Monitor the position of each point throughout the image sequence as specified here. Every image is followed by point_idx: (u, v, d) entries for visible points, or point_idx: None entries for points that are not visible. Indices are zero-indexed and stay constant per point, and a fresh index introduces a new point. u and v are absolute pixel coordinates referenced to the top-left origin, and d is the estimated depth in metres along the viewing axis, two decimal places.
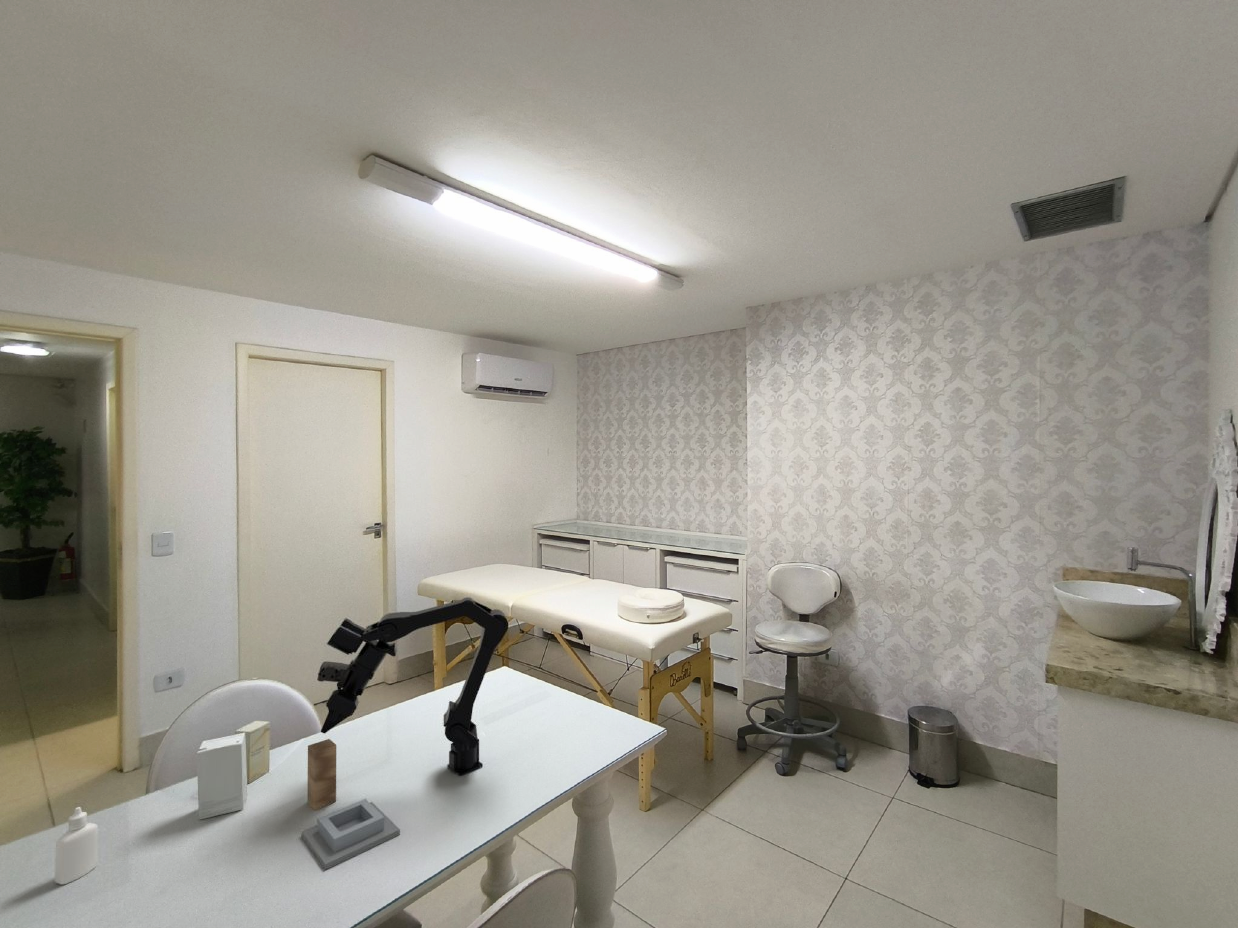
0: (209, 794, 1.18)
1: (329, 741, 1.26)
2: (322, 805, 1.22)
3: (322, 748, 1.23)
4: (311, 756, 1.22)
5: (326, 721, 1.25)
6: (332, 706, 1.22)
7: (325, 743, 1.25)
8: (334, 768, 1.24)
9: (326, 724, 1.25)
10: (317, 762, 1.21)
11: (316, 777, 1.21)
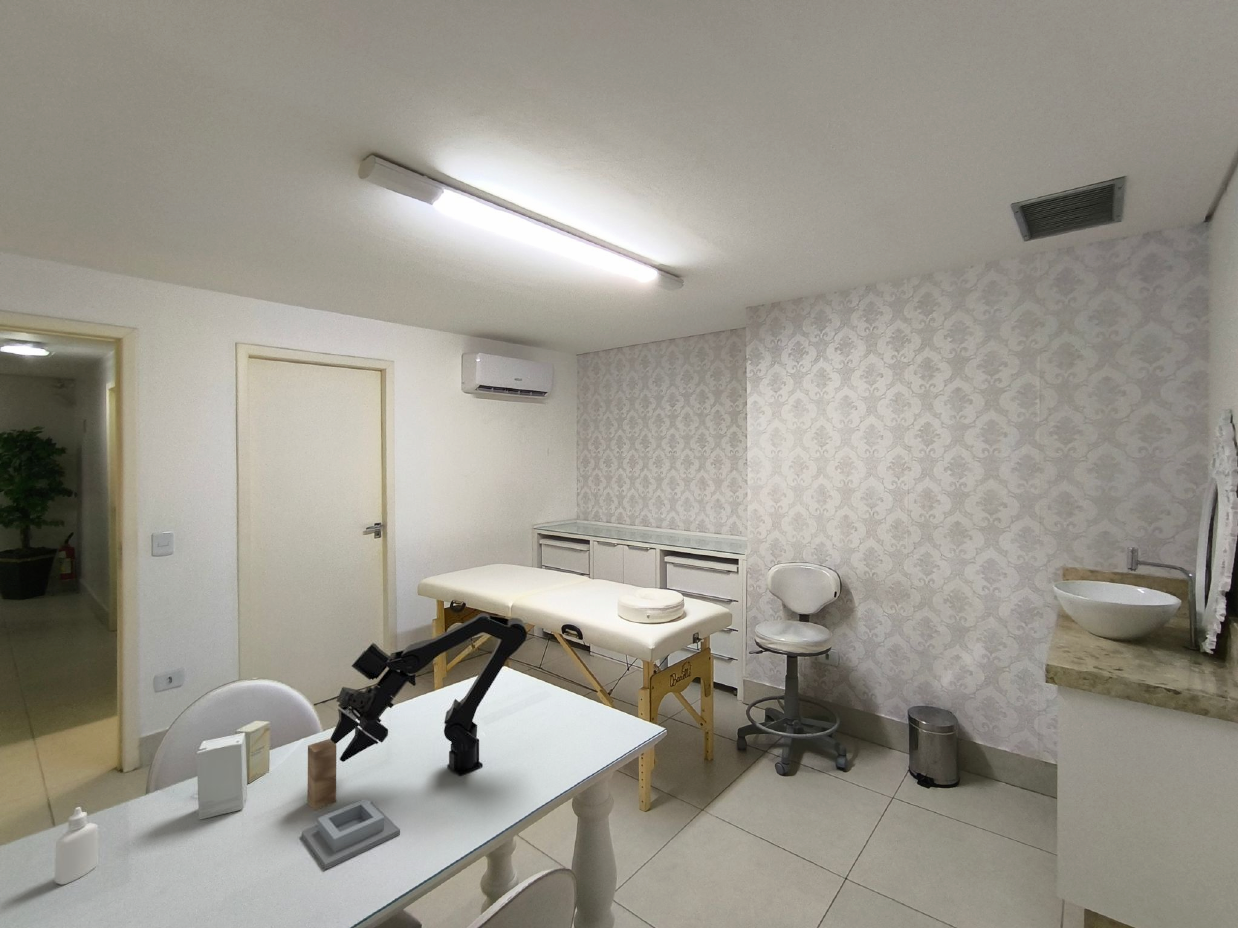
0: (209, 794, 1.18)
1: (329, 741, 1.26)
2: (322, 805, 1.22)
3: (322, 748, 1.23)
4: (311, 756, 1.22)
5: (350, 748, 1.23)
6: (368, 732, 1.22)
7: (325, 743, 1.25)
8: (334, 768, 1.24)
9: (348, 752, 1.23)
10: (317, 762, 1.21)
11: (316, 777, 1.21)
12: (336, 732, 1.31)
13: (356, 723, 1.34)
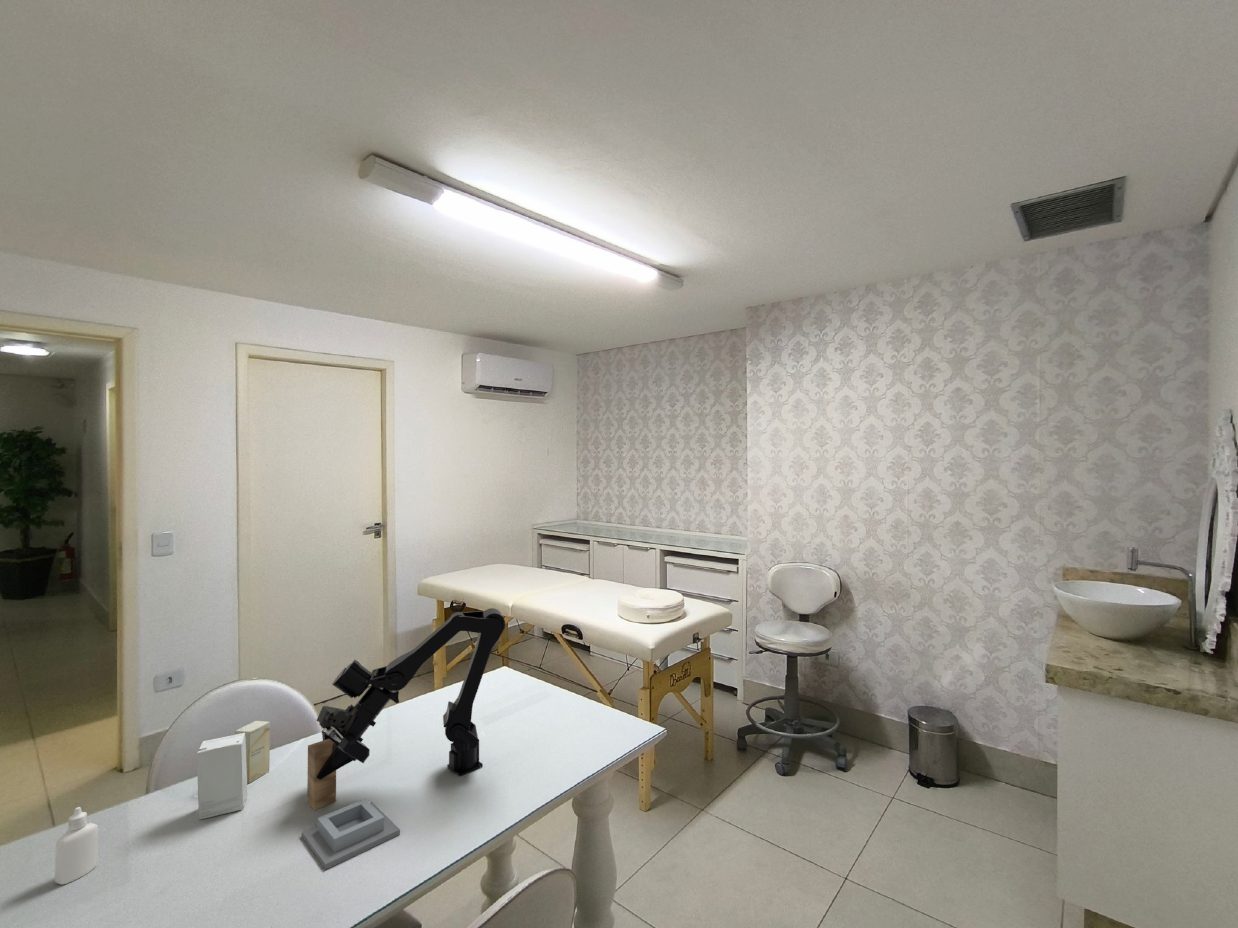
0: (209, 794, 1.18)
1: (329, 741, 1.26)
2: (322, 805, 1.22)
3: (322, 748, 1.23)
4: (311, 756, 1.22)
5: (327, 766, 1.22)
6: (349, 752, 1.19)
7: (325, 743, 1.25)
8: None
9: (325, 769, 1.22)
10: (317, 762, 1.21)
11: (316, 777, 1.21)
12: None
13: None
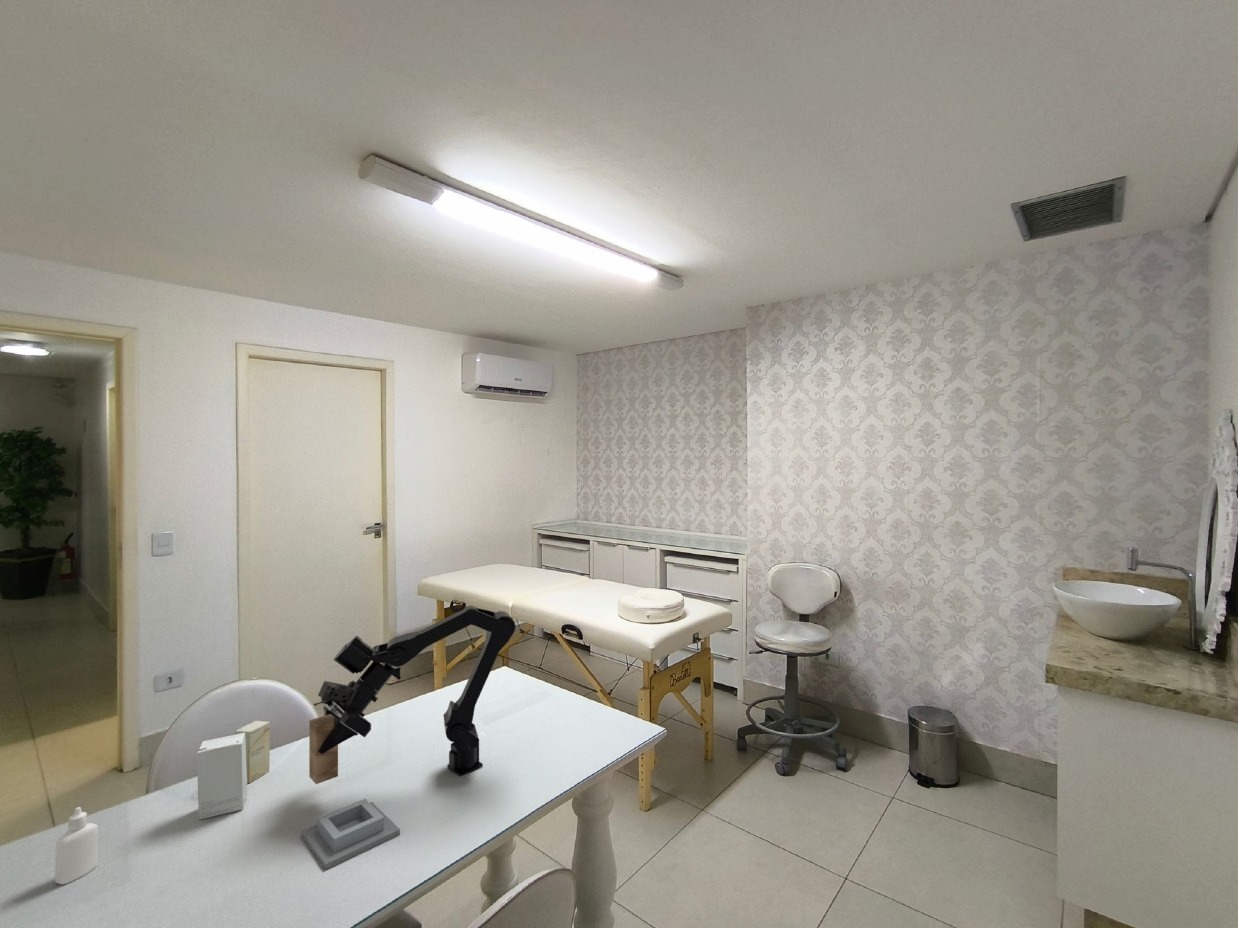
0: (209, 794, 1.18)
1: (331, 716, 1.26)
2: (324, 779, 1.22)
3: (324, 722, 1.22)
4: (313, 730, 1.22)
5: (328, 740, 1.21)
6: (350, 726, 1.19)
7: (326, 718, 1.25)
8: None
9: (327, 743, 1.21)
10: (319, 737, 1.21)
11: None
12: None
13: None
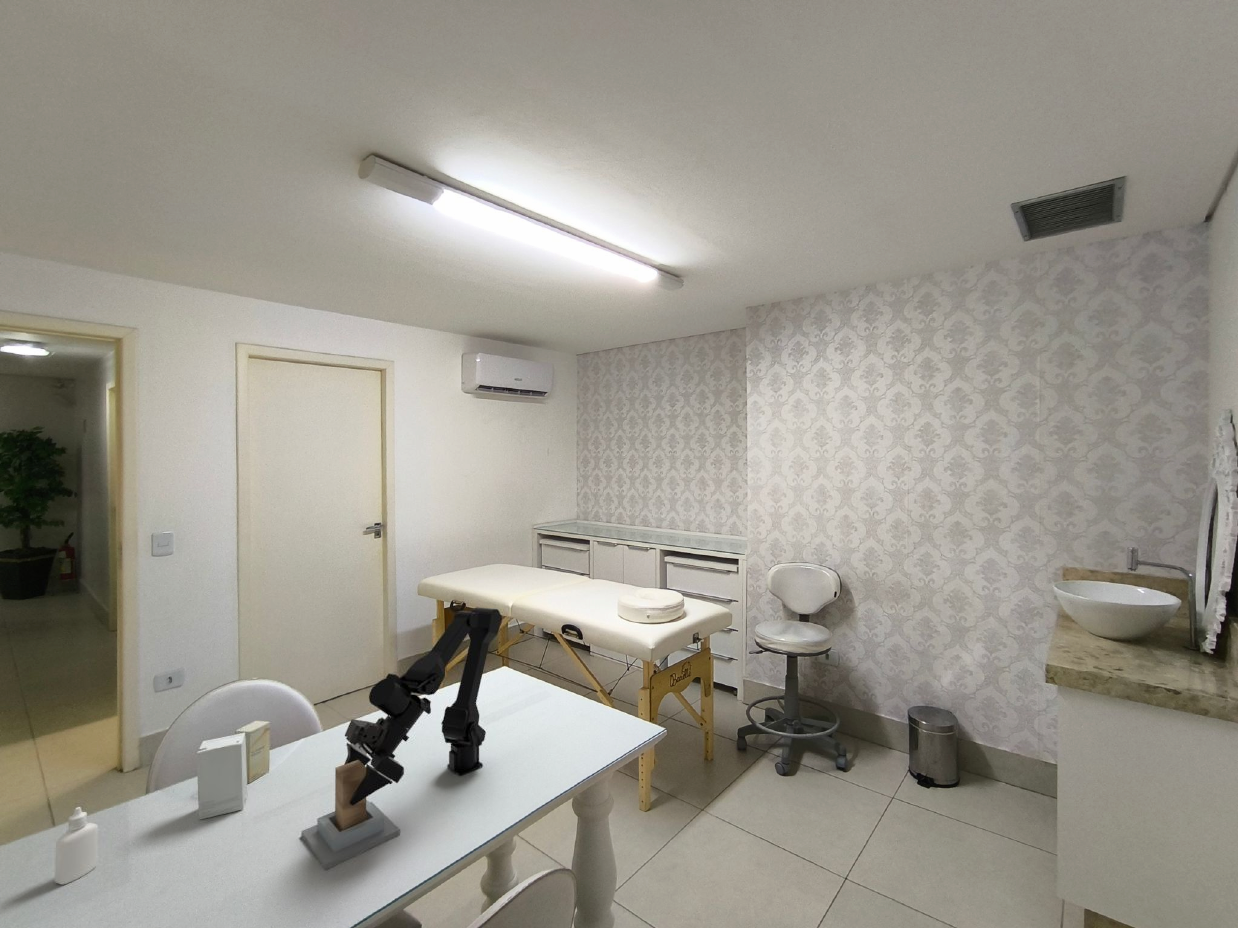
0: (209, 794, 1.18)
1: (358, 763, 1.14)
2: None
3: (351, 771, 1.11)
4: (339, 779, 1.11)
5: (360, 790, 1.09)
6: (382, 772, 1.08)
7: (354, 765, 1.13)
8: None
9: (359, 794, 1.08)
10: (345, 787, 1.10)
11: (344, 804, 1.09)
12: None
13: (367, 759, 1.19)
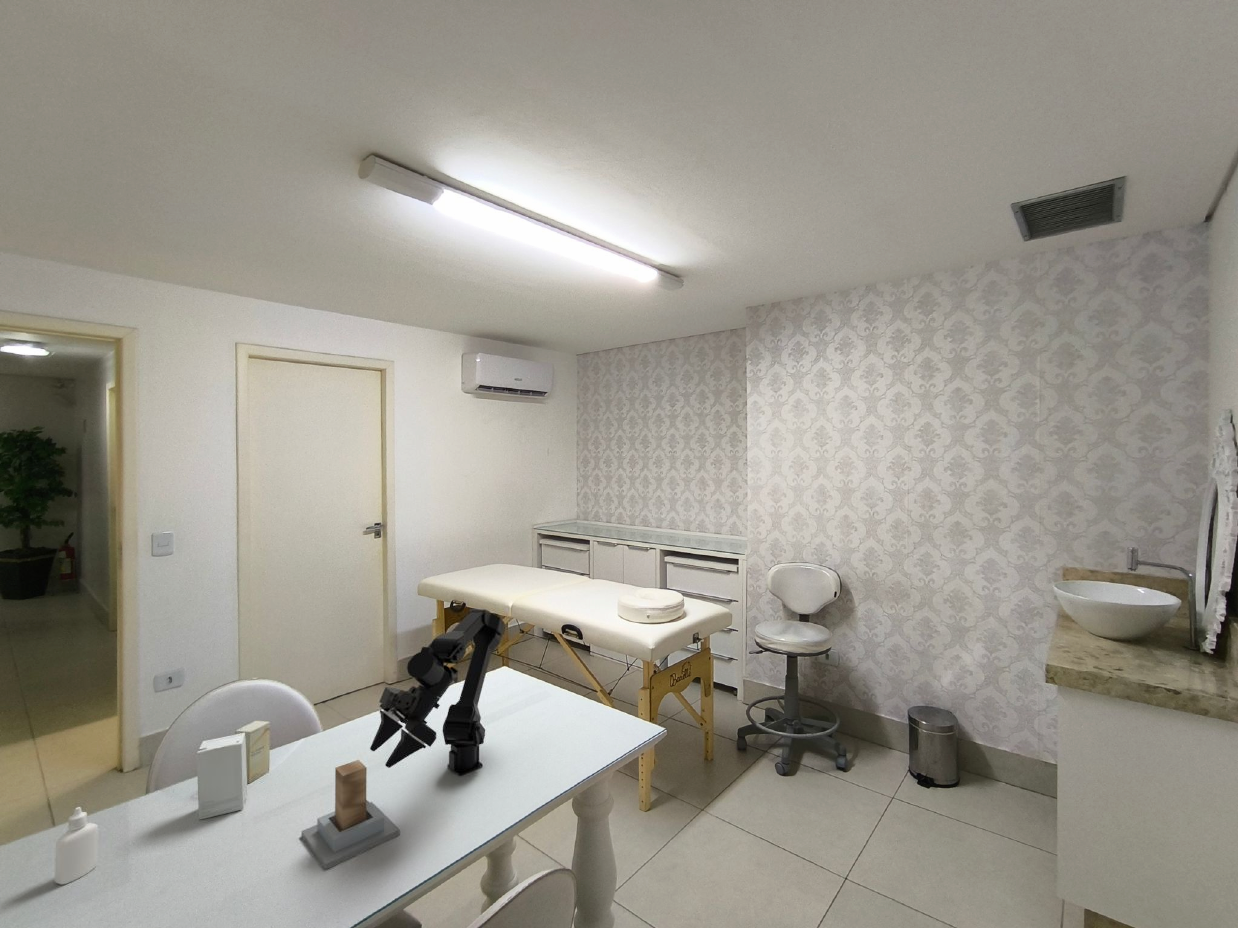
0: (209, 794, 1.18)
1: (358, 763, 1.14)
2: None
3: (351, 771, 1.11)
4: (339, 779, 1.11)
5: (396, 753, 1.13)
6: (416, 735, 1.13)
7: (354, 765, 1.13)
8: (364, 793, 1.12)
9: (394, 757, 1.13)
10: (345, 787, 1.10)
11: (344, 804, 1.09)
12: (379, 735, 1.21)
13: (399, 725, 1.24)
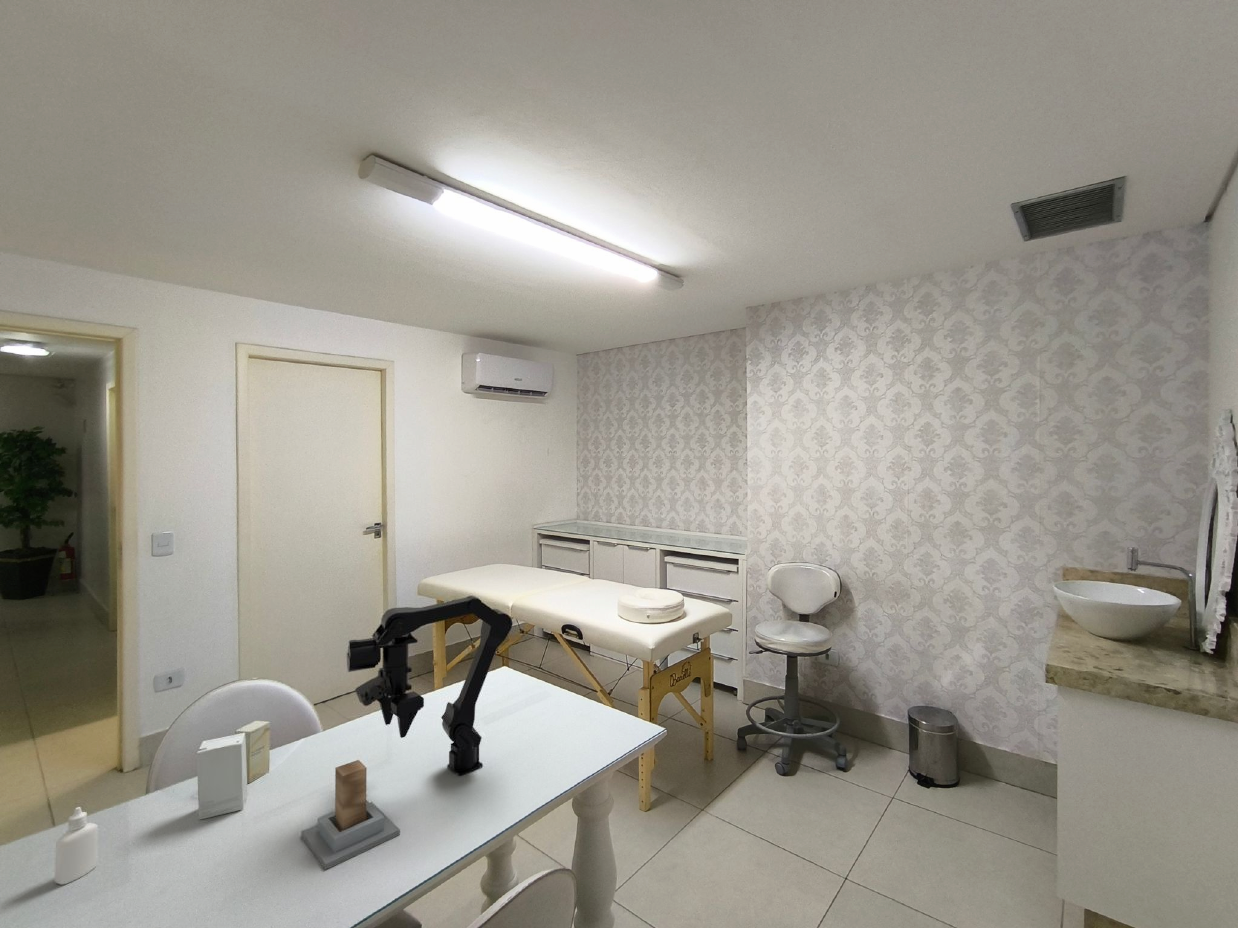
0: (209, 794, 1.18)
1: (358, 763, 1.14)
2: None
3: (351, 771, 1.11)
4: (339, 779, 1.11)
5: (401, 727, 1.26)
6: (404, 711, 1.22)
7: (354, 765, 1.13)
8: (364, 793, 1.12)
9: (403, 729, 1.26)
10: (345, 787, 1.10)
11: (344, 804, 1.09)
12: (384, 712, 1.33)
13: None
